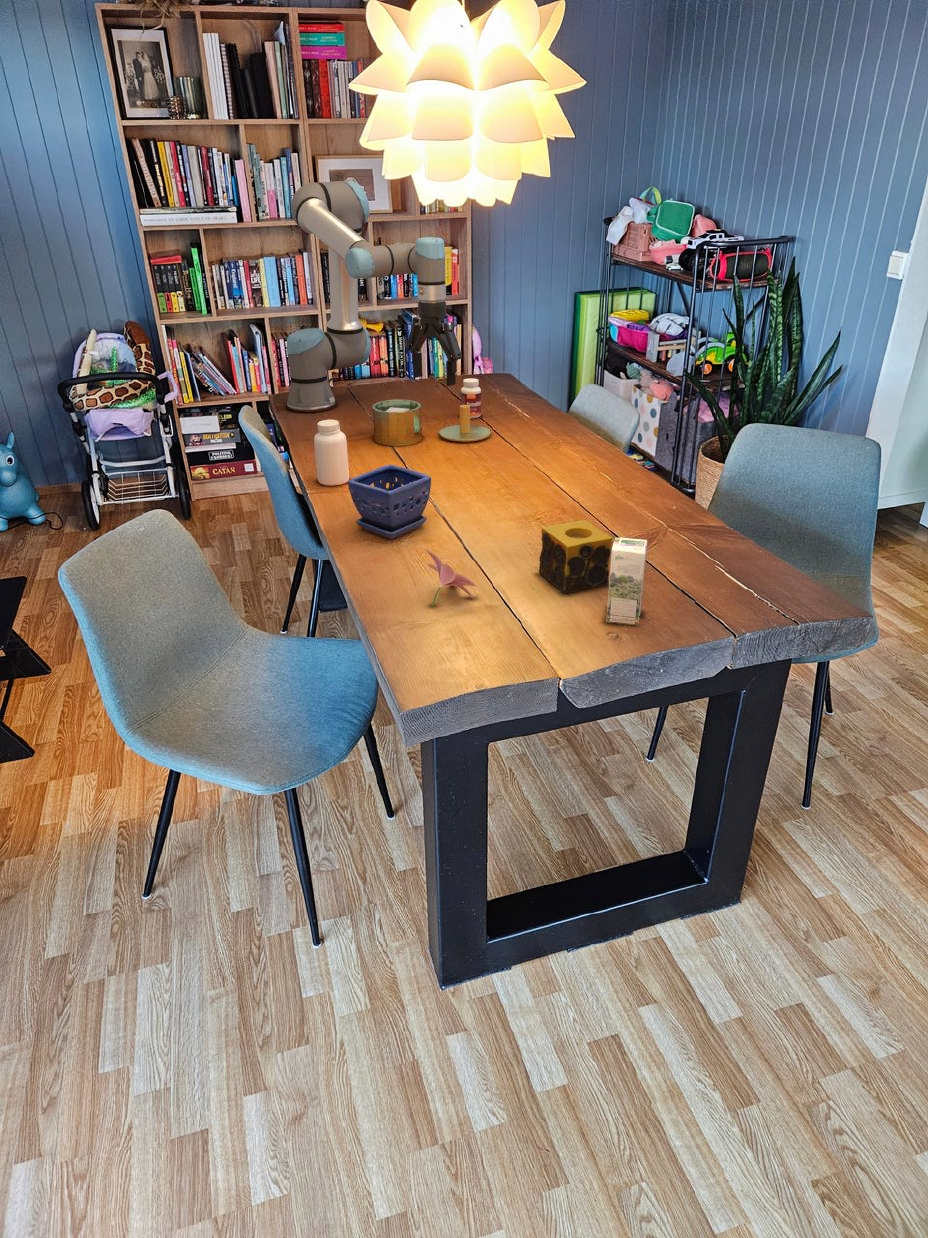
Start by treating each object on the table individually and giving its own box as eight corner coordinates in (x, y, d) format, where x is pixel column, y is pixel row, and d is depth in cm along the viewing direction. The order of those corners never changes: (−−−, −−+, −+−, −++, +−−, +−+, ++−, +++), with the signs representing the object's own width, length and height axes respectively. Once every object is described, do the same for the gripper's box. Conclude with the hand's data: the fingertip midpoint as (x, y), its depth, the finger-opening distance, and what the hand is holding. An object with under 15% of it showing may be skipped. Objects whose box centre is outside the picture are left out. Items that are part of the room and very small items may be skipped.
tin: (370, 434, 256) (368, 401, 251) (416, 429, 259) (415, 397, 254) (378, 448, 244) (376, 414, 239) (427, 443, 247) (425, 410, 243)
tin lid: (434, 430, 258) (433, 401, 253) (482, 426, 261) (482, 397, 257) (446, 445, 245) (445, 415, 241) (496, 440, 248) (497, 410, 244)
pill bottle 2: (466, 419, 267) (466, 383, 262) (457, 415, 272) (456, 379, 266) (484, 417, 269) (484, 380, 264) (475, 412, 274) (474, 376, 269)
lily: (477, 620, 159) (493, 569, 158) (417, 603, 155) (432, 551, 154) (458, 610, 170) (472, 562, 170) (401, 594, 166) (416, 545, 166)
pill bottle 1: (315, 486, 218) (309, 427, 211) (320, 475, 225) (315, 417, 218) (347, 486, 218) (342, 426, 210) (351, 475, 225) (347, 417, 217)
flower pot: (392, 545, 186) (389, 492, 180) (349, 530, 193) (345, 478, 188) (434, 526, 195) (433, 475, 189) (392, 512, 202) (389, 462, 196)
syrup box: (641, 611, 159) (648, 538, 152) (638, 627, 154) (645, 551, 147) (609, 608, 160) (614, 535, 153) (605, 623, 155) (611, 548, 148)
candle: (537, 573, 173) (539, 526, 168) (582, 564, 177) (584, 518, 172) (563, 595, 165) (565, 546, 160) (609, 585, 168) (613, 537, 164)
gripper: (390, 297, 240) (394, 375, 250) (454, 307, 224) (455, 391, 234) (411, 294, 244) (414, 371, 255) (474, 303, 229) (475, 385, 239)
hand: (434, 380), depth 244 cm, fingers open, 13 cm apart
